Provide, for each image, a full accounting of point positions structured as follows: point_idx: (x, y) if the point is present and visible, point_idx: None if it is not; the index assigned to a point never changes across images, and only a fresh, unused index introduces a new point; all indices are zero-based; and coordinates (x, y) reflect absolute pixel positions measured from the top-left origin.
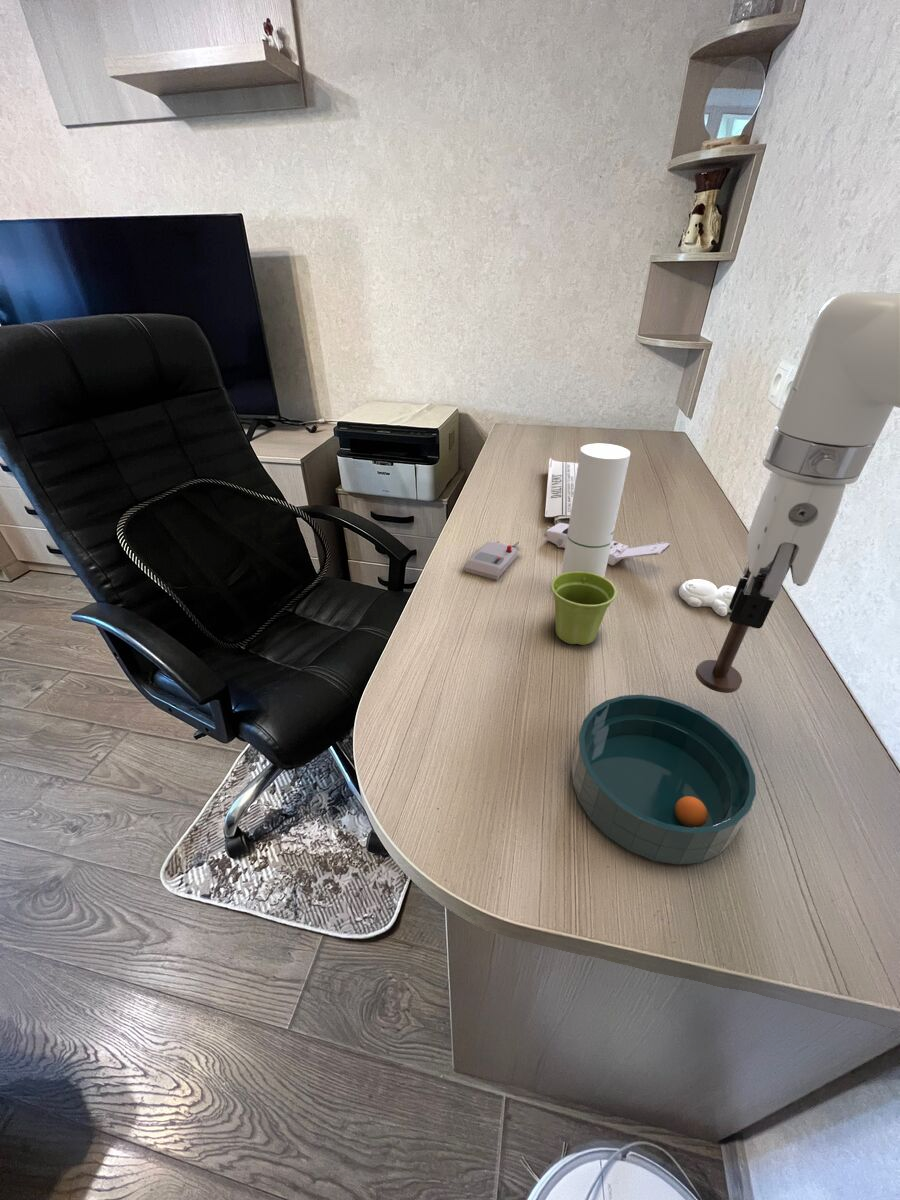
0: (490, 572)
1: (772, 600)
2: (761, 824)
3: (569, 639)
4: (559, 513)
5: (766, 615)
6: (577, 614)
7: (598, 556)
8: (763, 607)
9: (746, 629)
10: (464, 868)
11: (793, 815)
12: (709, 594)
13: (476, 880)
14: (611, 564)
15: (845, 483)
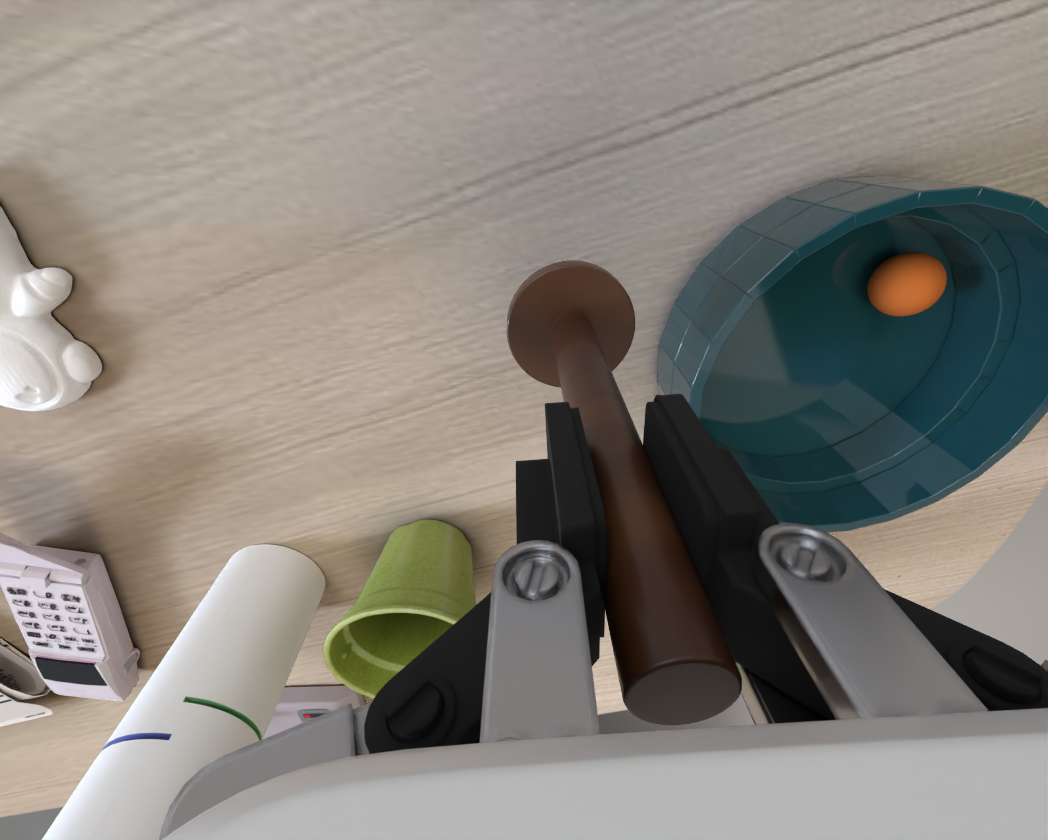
0: (355, 705)
1: (822, 537)
2: (852, 115)
3: (472, 559)
4: (11, 704)
5: (707, 435)
6: None
7: (242, 677)
8: (769, 509)
9: (622, 408)
10: (987, 524)
11: (811, 31)
12: (14, 340)
13: (1004, 508)
14: (101, 559)
15: None
